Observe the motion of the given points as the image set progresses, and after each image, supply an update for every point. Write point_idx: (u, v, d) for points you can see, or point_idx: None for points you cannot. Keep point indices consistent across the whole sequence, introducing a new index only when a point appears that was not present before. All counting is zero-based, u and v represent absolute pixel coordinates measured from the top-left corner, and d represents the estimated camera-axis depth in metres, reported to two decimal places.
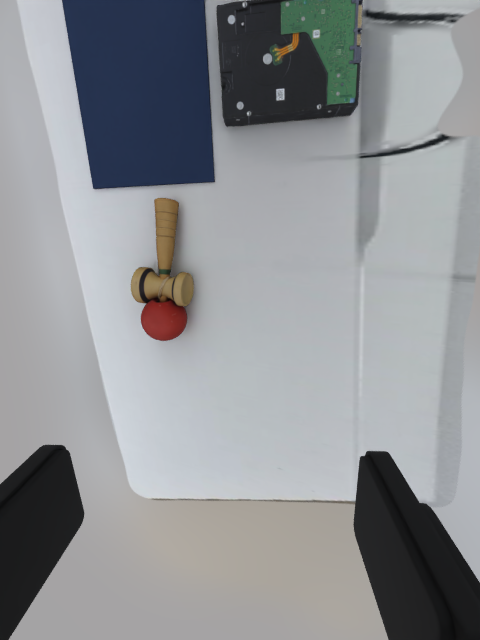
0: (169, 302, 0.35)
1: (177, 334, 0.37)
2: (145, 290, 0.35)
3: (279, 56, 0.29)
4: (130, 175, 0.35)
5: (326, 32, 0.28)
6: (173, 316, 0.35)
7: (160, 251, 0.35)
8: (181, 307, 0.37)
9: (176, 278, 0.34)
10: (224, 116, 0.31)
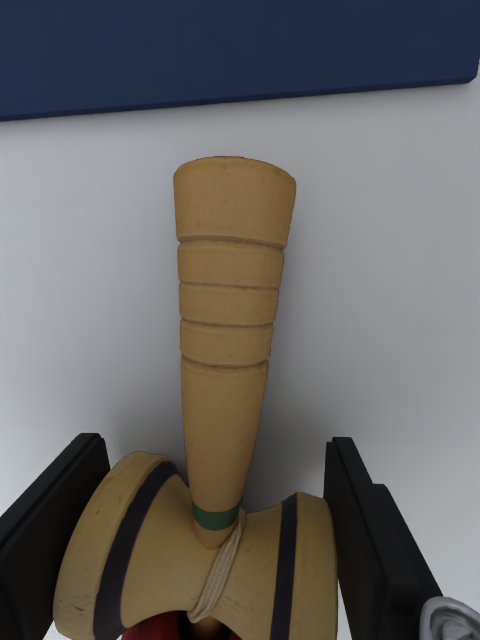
0: None
1: None
2: (128, 619, 0.07)
3: None
4: (52, 57, 0.07)
5: None
6: None
7: (206, 439, 0.07)
8: None
9: (296, 603, 0.06)
10: None
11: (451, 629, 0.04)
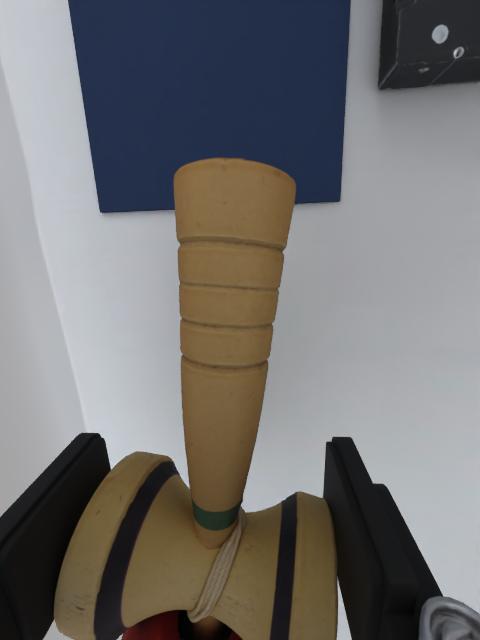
0: None
1: None
2: (129, 619, 0.07)
3: None
4: (173, 188, 0.18)
5: None
6: None
7: (207, 439, 0.07)
8: None
9: (296, 602, 0.06)
10: (400, 60, 0.14)
11: (451, 629, 0.04)
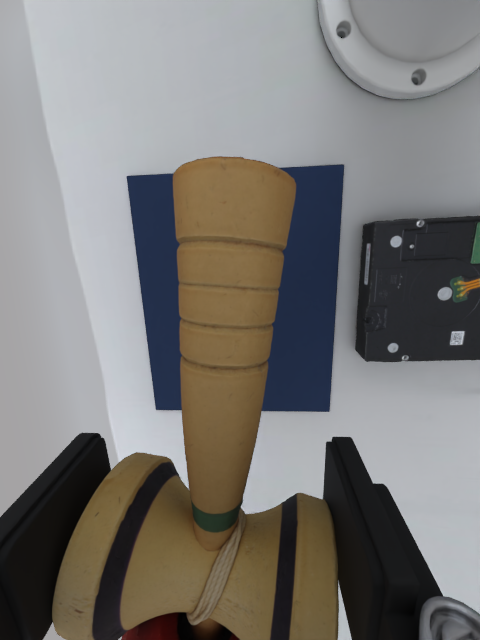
0: None
1: None
2: (128, 622, 0.07)
3: (464, 292, 0.19)
4: None
5: None
6: None
7: (206, 441, 0.07)
8: None
9: (296, 605, 0.06)
10: (367, 359, 0.21)
11: (451, 629, 0.04)
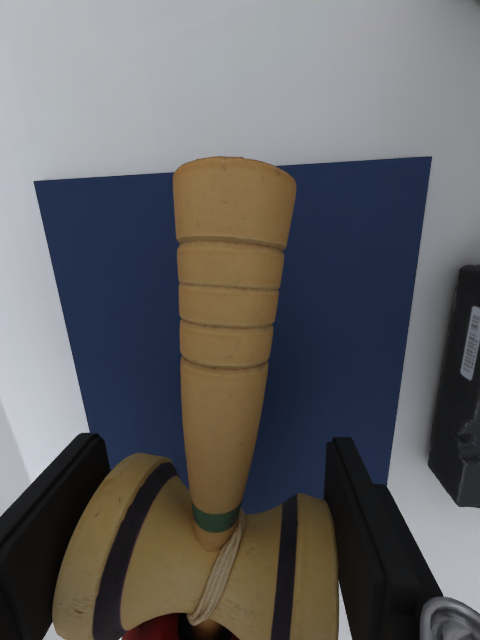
0: None
1: None
2: (128, 622, 0.07)
3: None
4: None
5: None
6: None
7: (206, 441, 0.07)
8: None
9: (296, 606, 0.06)
10: (461, 504, 0.12)
11: (451, 629, 0.04)
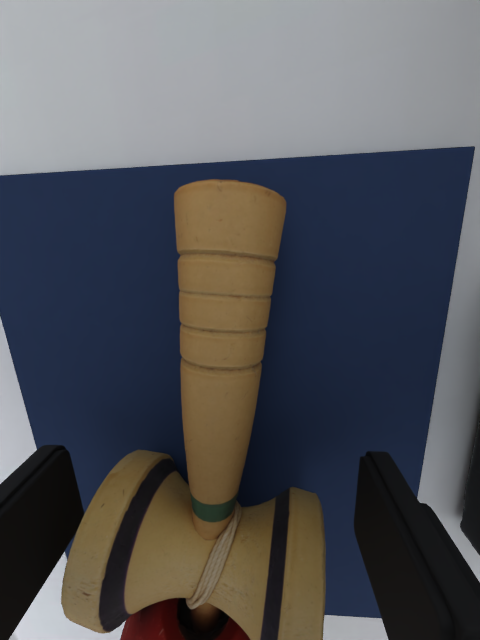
0: None
1: None
2: (131, 605, 0.08)
3: None
4: None
5: None
6: None
7: (204, 436, 0.07)
8: None
9: (286, 587, 0.07)
10: None
11: None
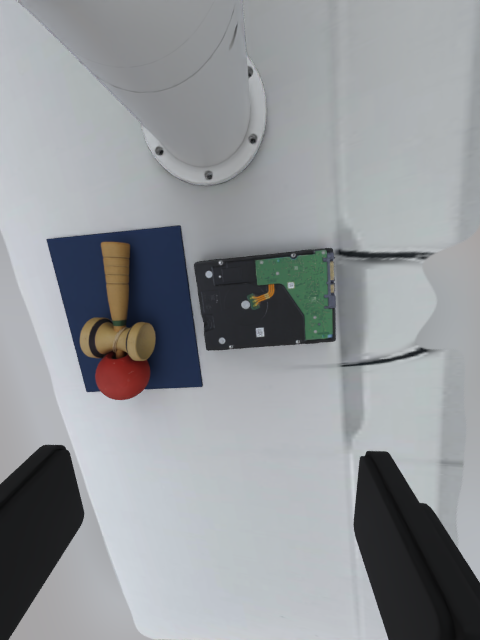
0: (125, 357, 0.31)
1: (138, 392, 0.32)
2: (97, 346, 0.31)
3: (257, 303, 0.30)
4: None
5: (300, 284, 0.29)
6: (130, 374, 0.30)
7: (111, 300, 0.30)
8: (141, 361, 0.32)
9: (130, 332, 0.30)
10: (207, 349, 0.32)
11: None
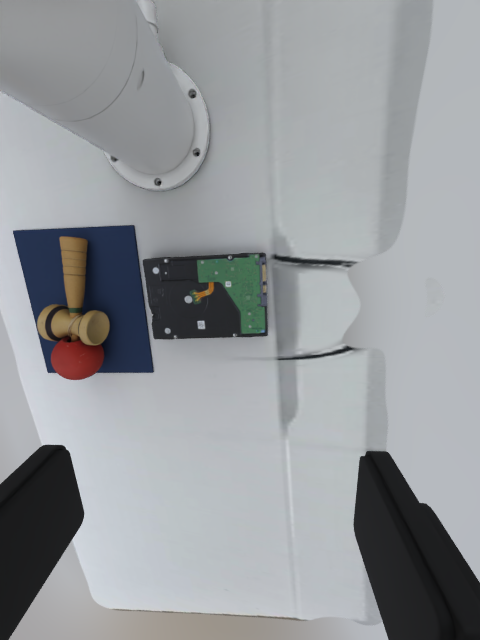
0: (79, 341, 0.34)
1: (90, 373, 0.35)
2: (53, 330, 0.34)
3: (198, 298, 0.34)
4: None
5: (236, 283, 0.33)
6: (81, 356, 0.34)
7: (67, 289, 0.33)
8: (94, 345, 0.35)
9: (82, 318, 0.33)
10: (154, 337, 0.35)
11: None
